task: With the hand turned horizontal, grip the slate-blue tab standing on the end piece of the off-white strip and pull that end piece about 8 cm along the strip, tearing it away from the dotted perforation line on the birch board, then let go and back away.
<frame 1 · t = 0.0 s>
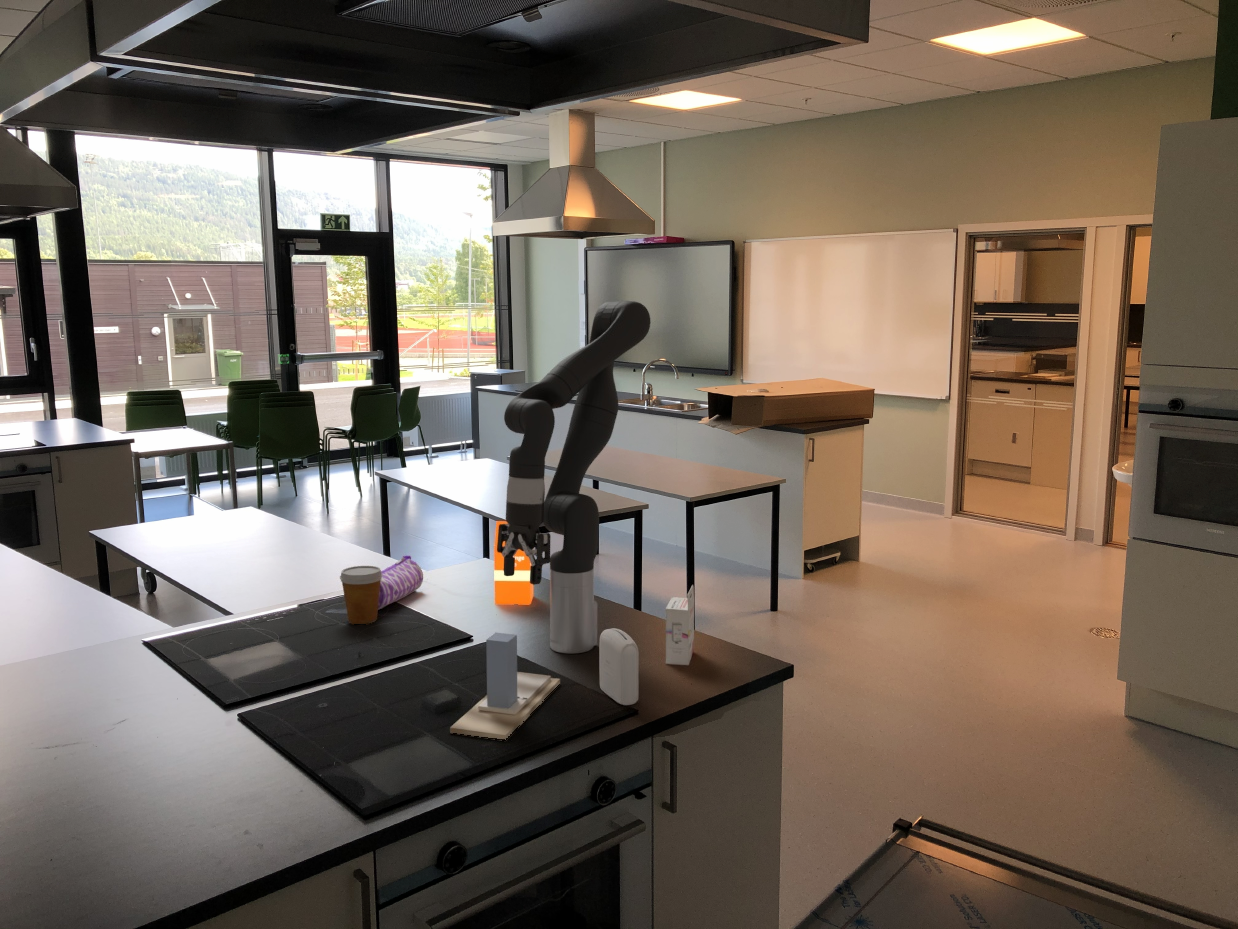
hand: (521, 579, 187), 17 cm above the counter, tool pointing down, fingers open, 8 cm apart
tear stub: (502, 672, 163), point 8 cm above the counter, slide at 0.0 cm
pencil case: (390, 602, 231), on the counter
ink cartridge box: (679, 659, 192), on the counter
photo printer: (618, 696, 172), on the counter
orange juice: (514, 600, 232), on the counter
perforated strip board: (508, 707, 167), on the counter
disposable coffee cup: (362, 621, 215), on the counter
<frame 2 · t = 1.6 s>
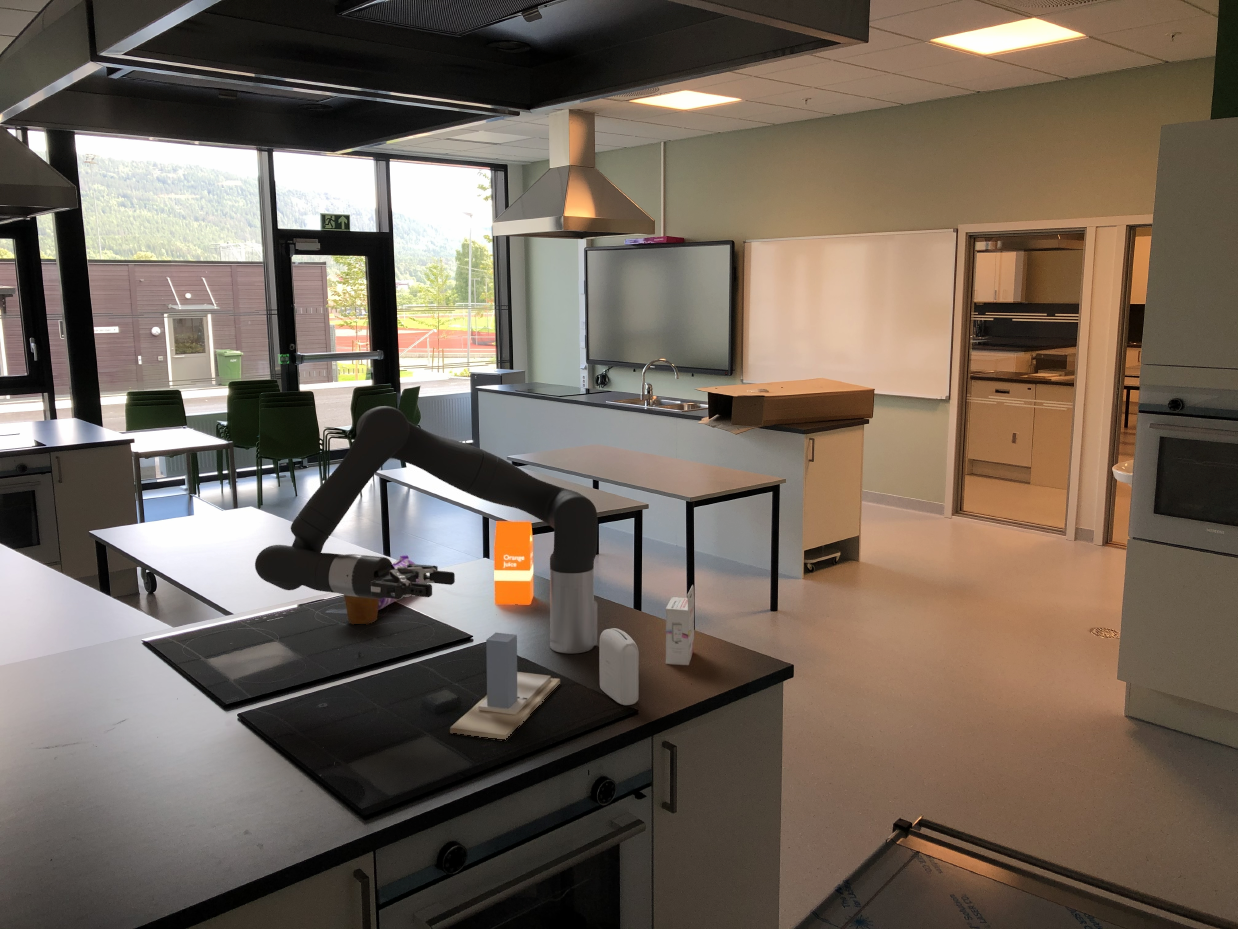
hand: (442, 584, 164), 22 cm above the counter, tool horizontal, fingers open, 8 cm apart
nothing on the counter moved.
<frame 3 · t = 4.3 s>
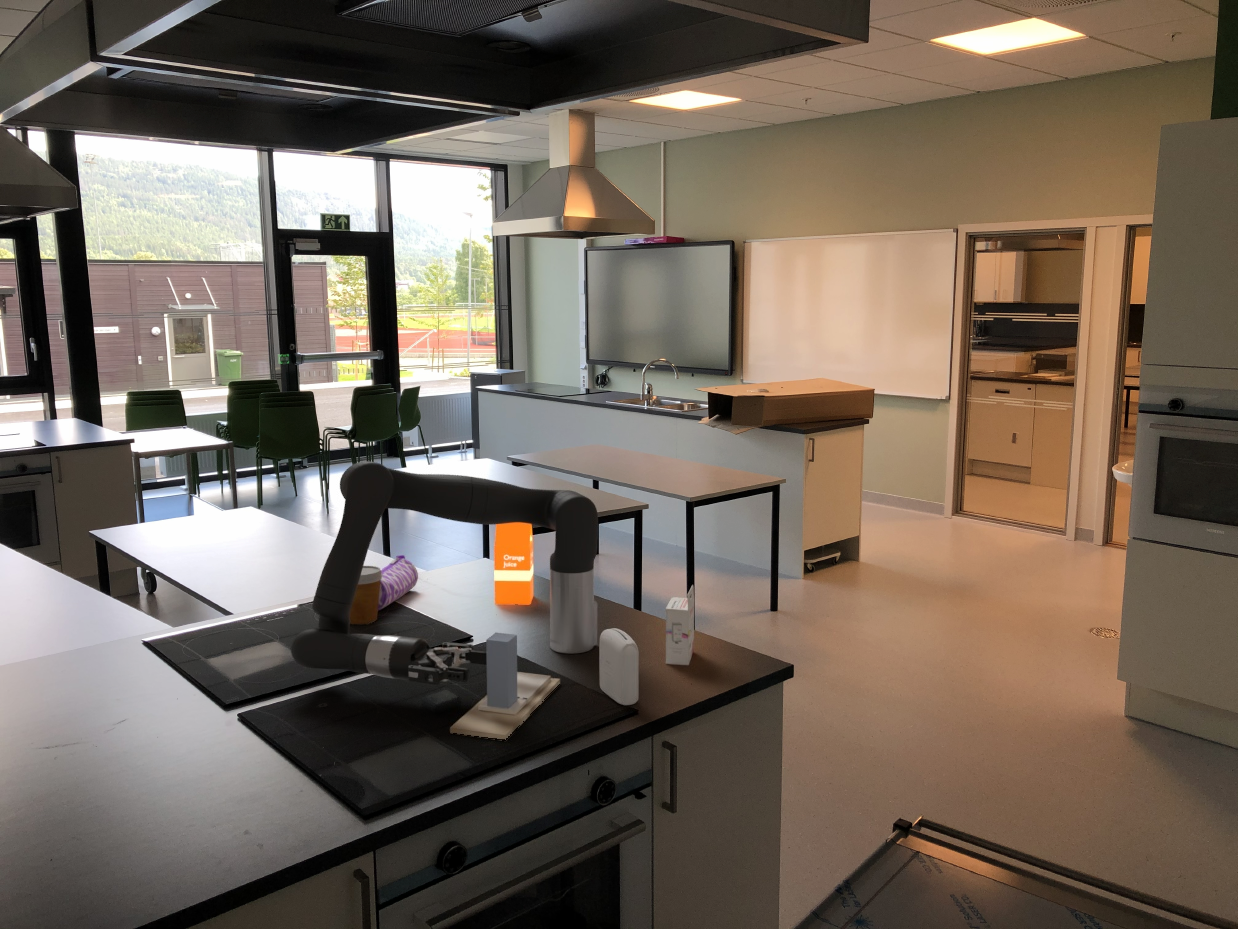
hand: (479, 666, 164), 8 cm above the counter, tool horizontal, fingers open, 8 cm apart
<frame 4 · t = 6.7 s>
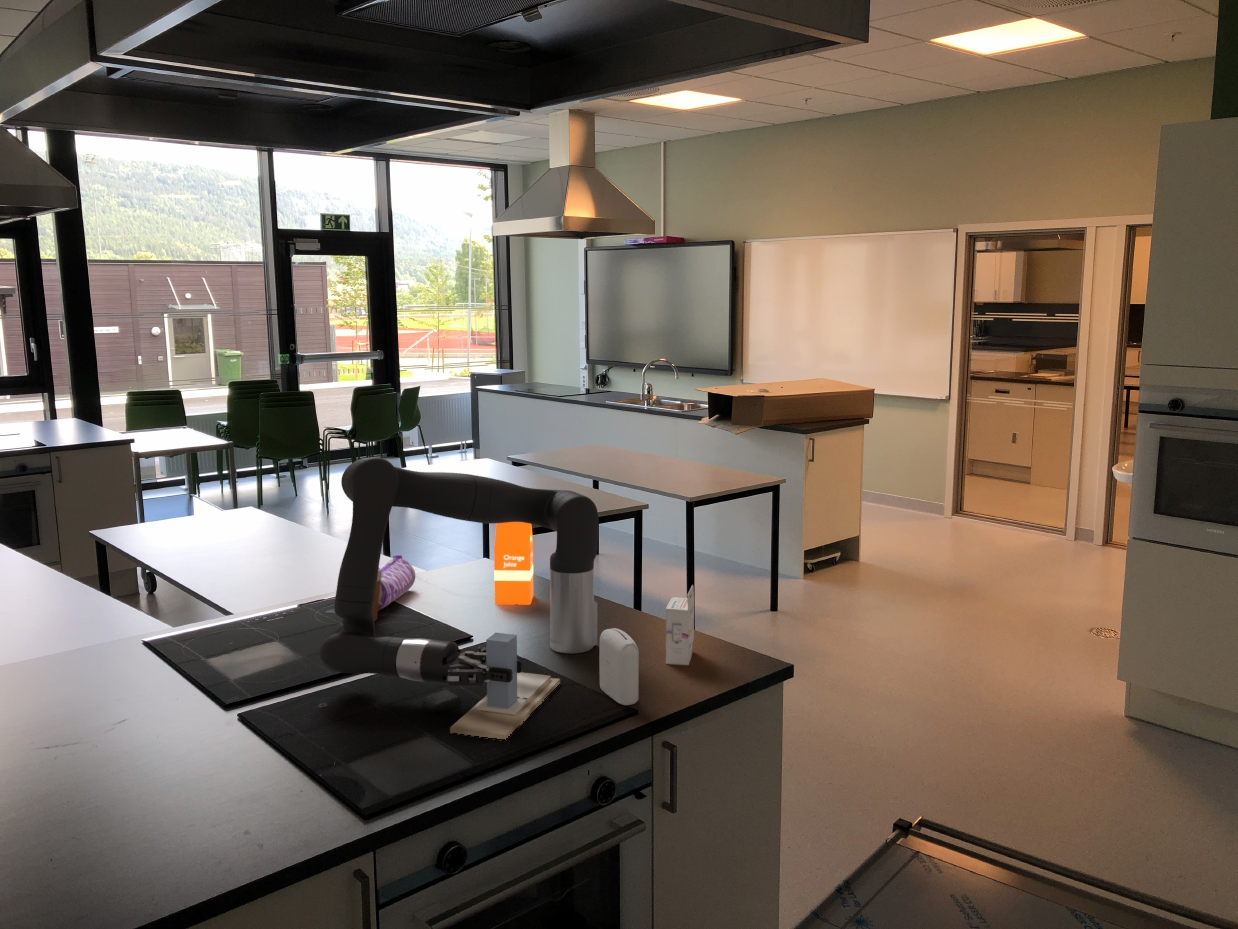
hand: (516, 671, 162), 8 cm above the counter, tool horizontal, fingers closed on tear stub, 4 cm apart
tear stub: (502, 672, 163), point 8 cm above the counter, slide at 0.0 cm, touching gripper
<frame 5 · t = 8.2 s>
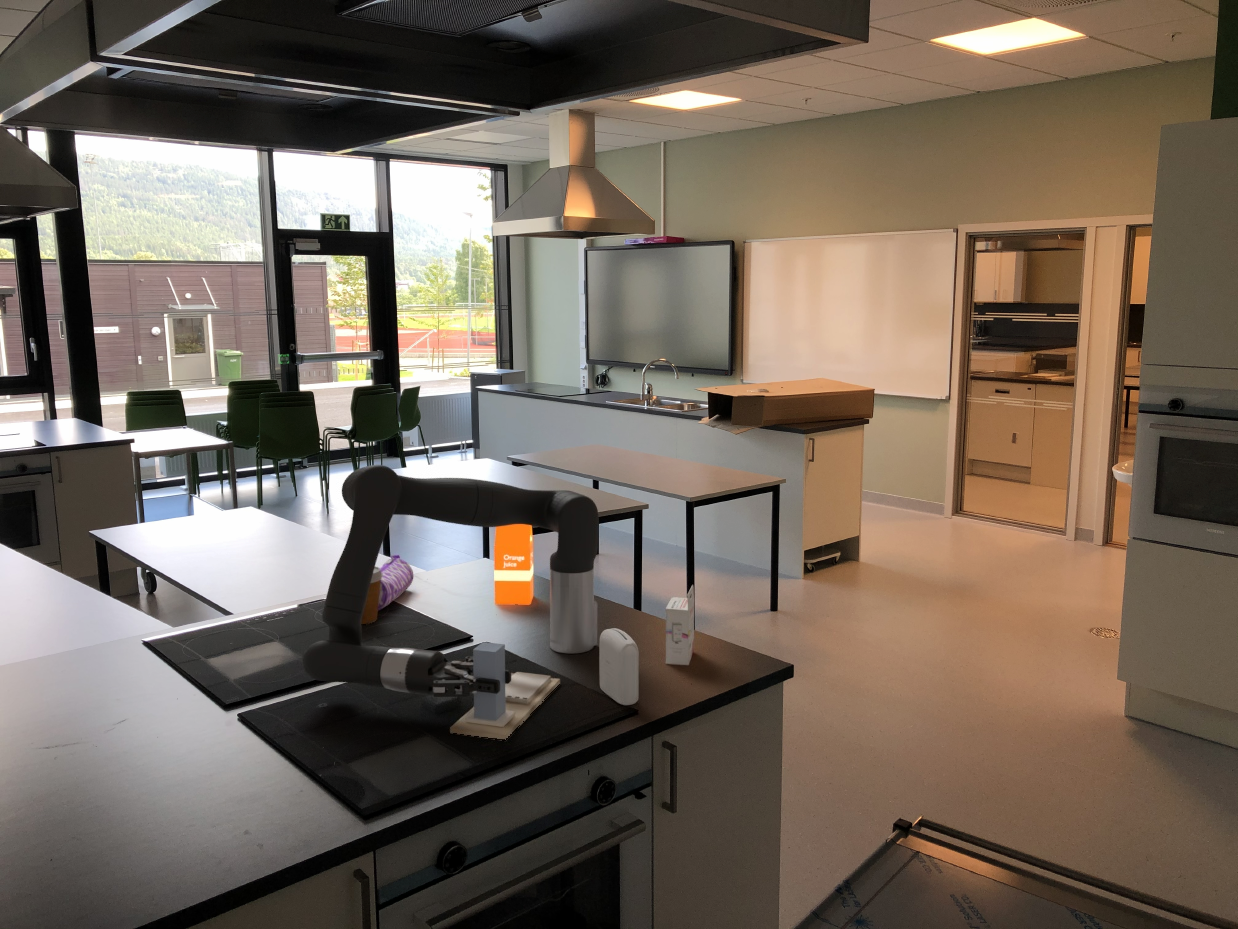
hand: (504, 682, 157), 8 cm above the counter, tool horizontal, fingers closed on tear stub, 4 cm apart
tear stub: (489, 683, 158), point 8 cm above the counter, slide at 5.3 cm, touching gripper
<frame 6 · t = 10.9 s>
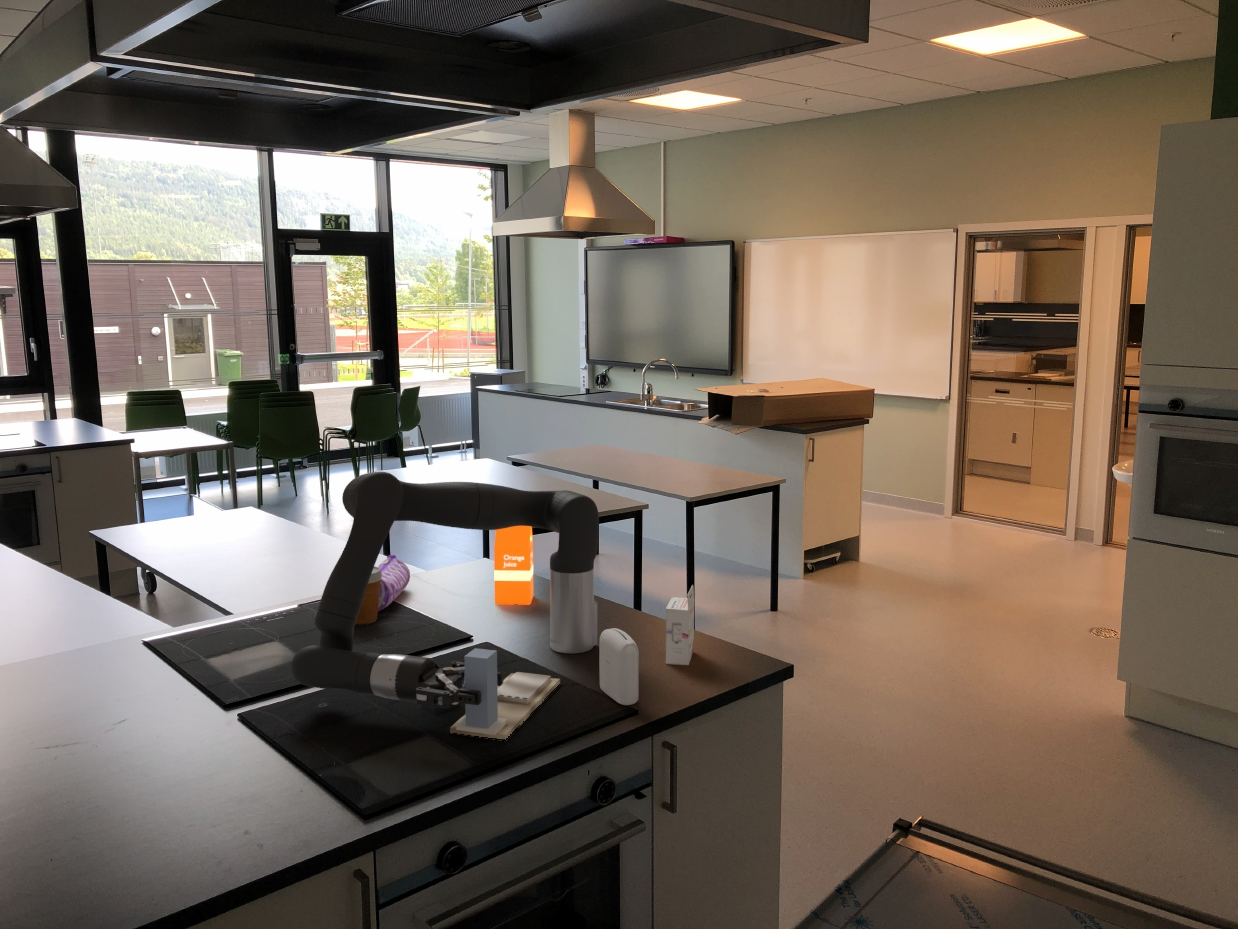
hand: (491, 688, 154), 8 cm above the counter, tool horizontal, fingers open, 8 cm apart
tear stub: (481, 690, 155), point 7 cm above the counter, slide at 8.5 cm
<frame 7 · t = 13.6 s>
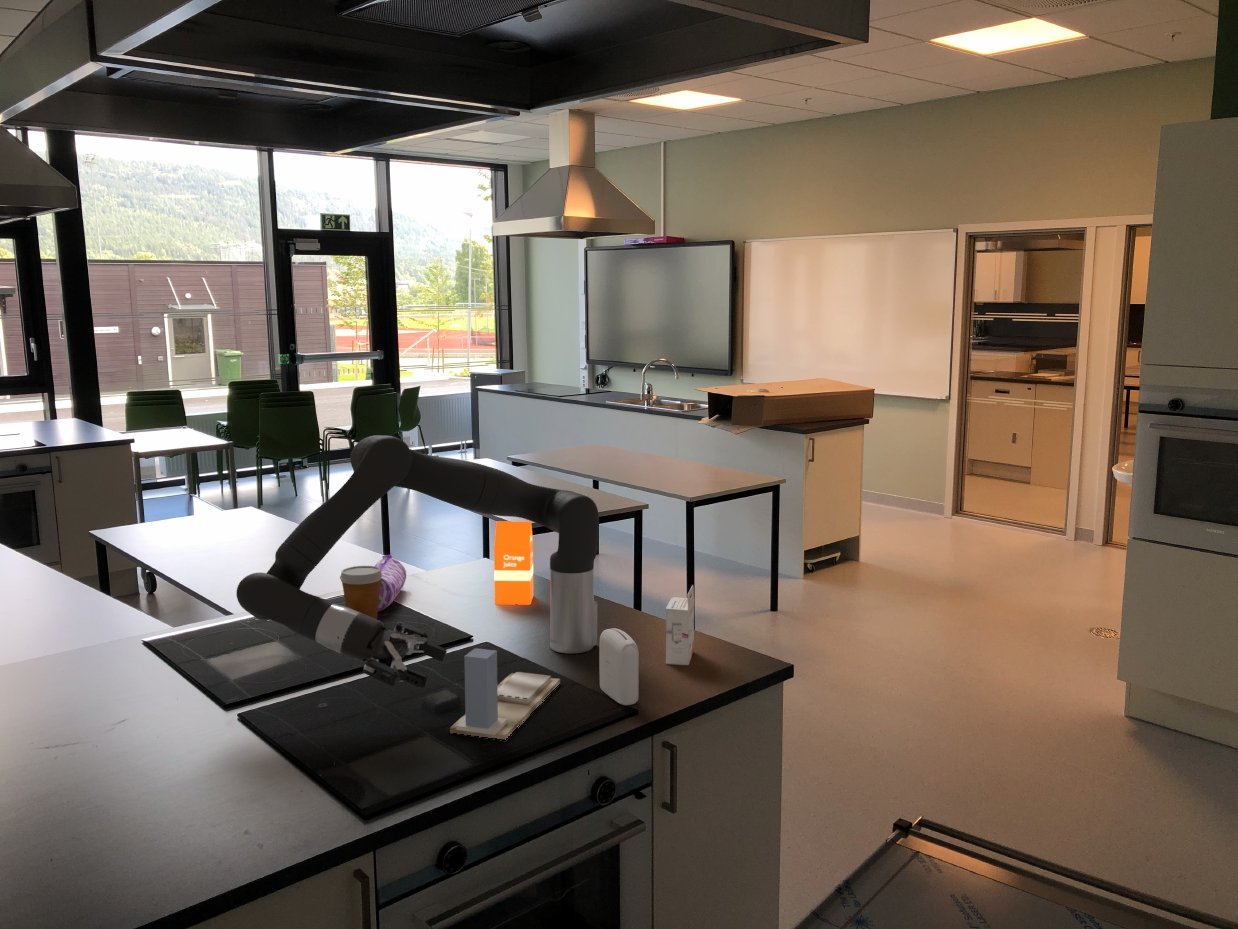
hand: (436, 668, 159), 9 cm above the counter, tool tilted 70°, fingers open, 8 cm apart
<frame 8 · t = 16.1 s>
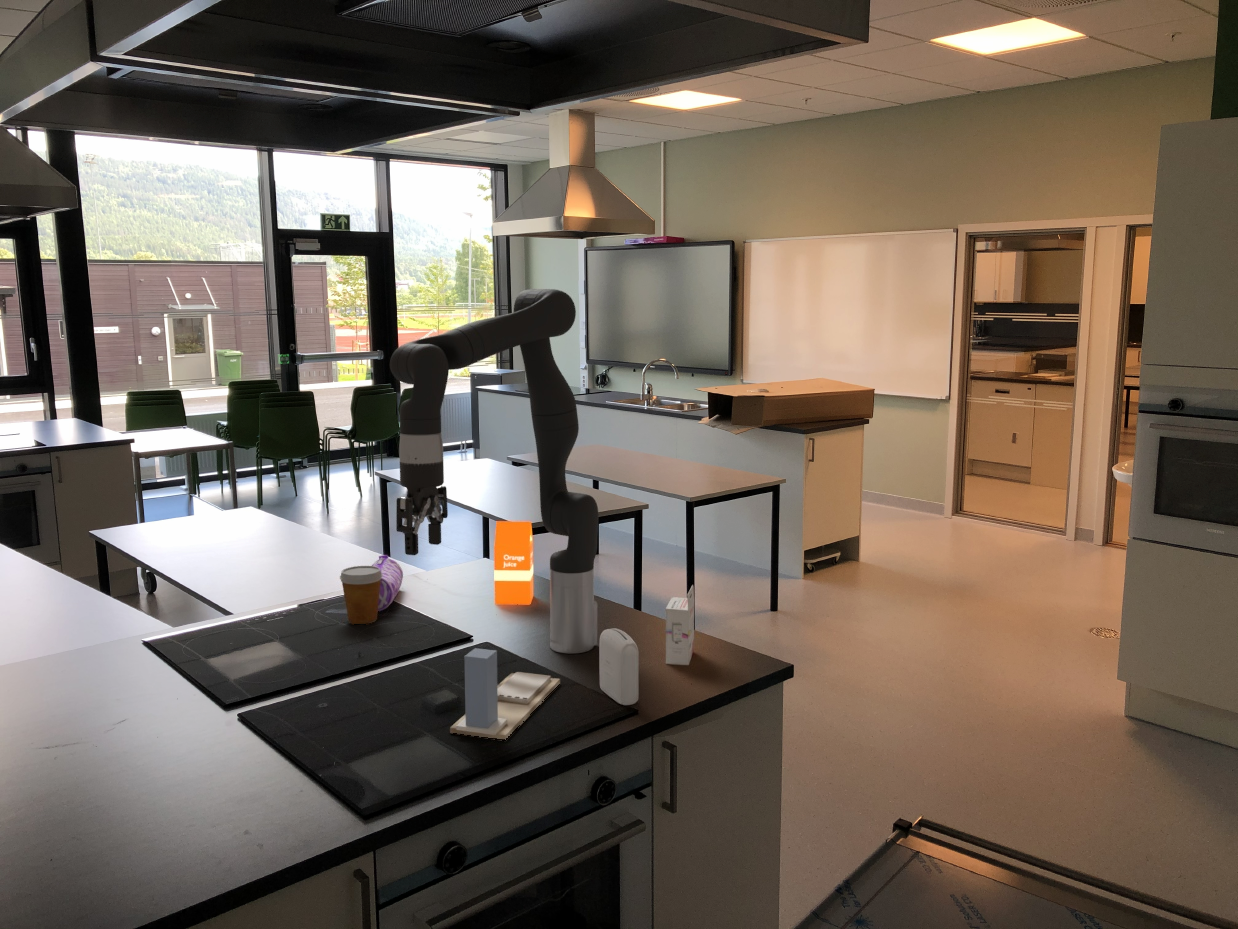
hand: (423, 549, 166), 28 cm above the counter, tool pointing down, fingers open, 8 cm apart
at the end: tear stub slide at 8.5 cm; the gripper is holding nothing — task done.
